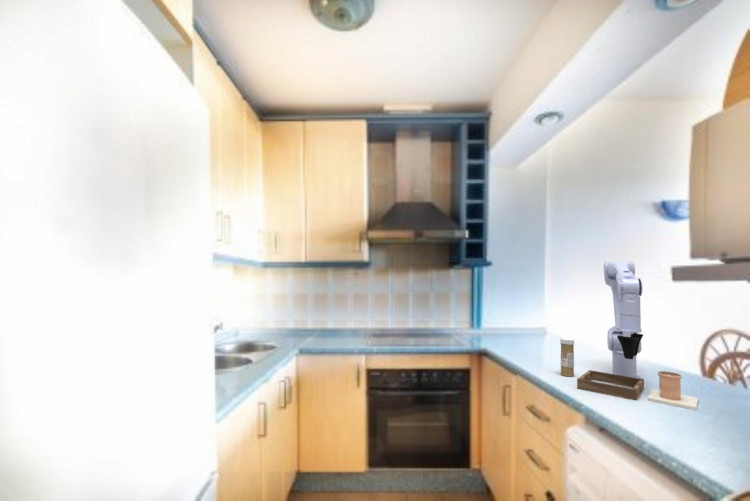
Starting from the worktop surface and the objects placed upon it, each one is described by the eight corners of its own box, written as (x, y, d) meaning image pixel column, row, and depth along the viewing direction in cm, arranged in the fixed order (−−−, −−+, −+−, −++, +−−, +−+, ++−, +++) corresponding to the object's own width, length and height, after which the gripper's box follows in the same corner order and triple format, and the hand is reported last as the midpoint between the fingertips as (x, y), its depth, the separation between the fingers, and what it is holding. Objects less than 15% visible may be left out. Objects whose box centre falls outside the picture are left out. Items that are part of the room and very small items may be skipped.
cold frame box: (589, 378, 134) (589, 370, 135) (644, 388, 124) (644, 379, 124) (577, 388, 123) (577, 379, 123) (636, 400, 112) (636, 390, 112)
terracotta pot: (657, 393, 117) (657, 370, 117) (680, 396, 114) (680, 373, 114) (659, 398, 112) (658, 374, 112) (683, 402, 109) (682, 377, 109)
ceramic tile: (652, 392, 120) (652, 389, 120) (698, 400, 113) (697, 397, 113) (647, 400, 112) (647, 397, 112) (696, 410, 105) (696, 407, 105)
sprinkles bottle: (557, 373, 140) (557, 337, 141) (569, 373, 141) (569, 337, 142) (565, 377, 136) (565, 339, 137) (577, 376, 136) (576, 339, 137)
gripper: (619, 312, 132) (620, 352, 131) (611, 315, 121) (611, 358, 120) (644, 314, 127) (645, 355, 126) (637, 317, 116) (638, 362, 116)
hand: (630, 357), depth 123 cm, fingers open, 7 cm apart
